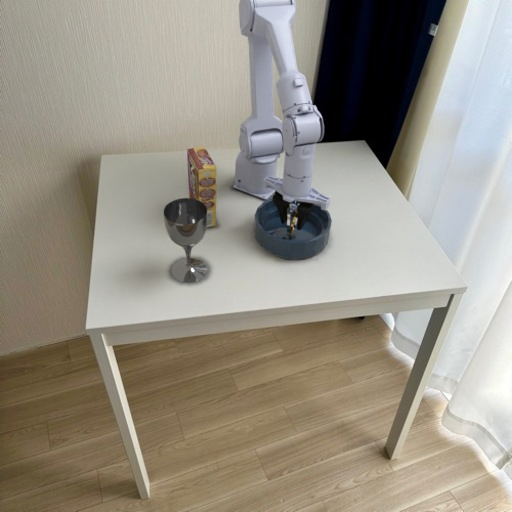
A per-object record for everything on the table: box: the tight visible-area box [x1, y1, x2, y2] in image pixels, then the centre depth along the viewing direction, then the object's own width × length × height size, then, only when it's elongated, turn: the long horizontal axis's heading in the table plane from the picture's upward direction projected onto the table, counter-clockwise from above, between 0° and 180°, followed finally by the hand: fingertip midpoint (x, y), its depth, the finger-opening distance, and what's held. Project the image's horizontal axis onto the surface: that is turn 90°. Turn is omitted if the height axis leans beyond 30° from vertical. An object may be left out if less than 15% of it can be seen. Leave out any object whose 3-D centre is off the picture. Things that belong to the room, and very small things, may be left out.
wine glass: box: [162, 197, 208, 284], centre depth 100 cm, size 8×8×15 cm
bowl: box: [253, 197, 333, 260], centre depth 112 cm, size 16×16×5 cm
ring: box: [287, 201, 299, 237], centre depth 111 cm, size 7×3×8 cm, turn 160°
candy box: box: [186, 146, 217, 228], centre depth 113 cm, size 9×4×15 cm, turn 20°
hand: (292, 224), depth 112 cm, fingers open, 3 cm apart
